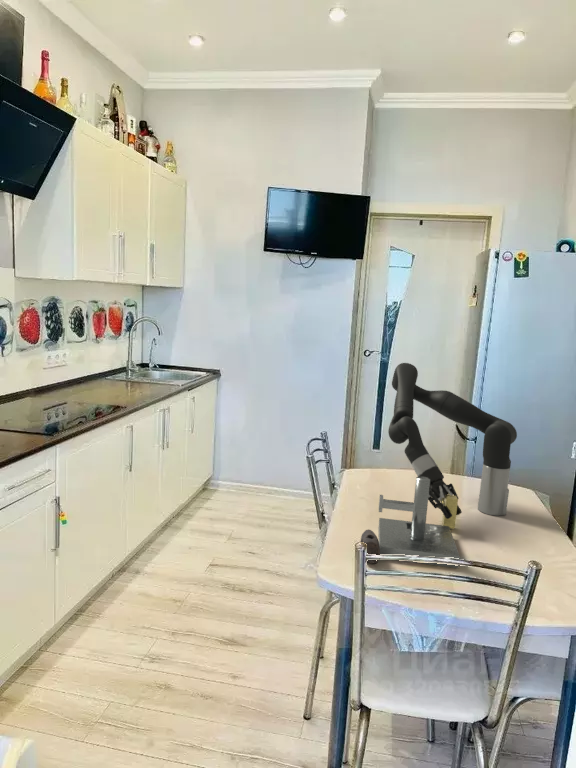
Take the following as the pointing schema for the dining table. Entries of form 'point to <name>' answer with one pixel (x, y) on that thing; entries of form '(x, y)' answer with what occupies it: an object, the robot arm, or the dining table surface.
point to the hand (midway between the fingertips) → (454, 515)
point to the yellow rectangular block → (452, 506)
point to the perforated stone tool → (371, 543)
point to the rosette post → (415, 529)
